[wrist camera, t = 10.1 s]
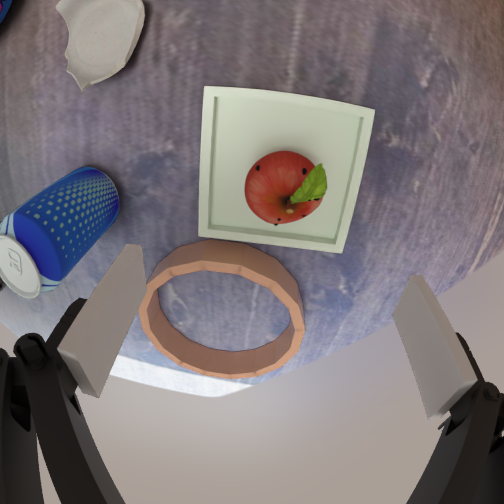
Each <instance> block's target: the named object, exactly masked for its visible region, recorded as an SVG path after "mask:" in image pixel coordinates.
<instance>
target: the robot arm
mask: <svg viewBox="0 0 504 504" xmlns="http://www.w3.org/2000/svg"><path fill="white" fill-rule="evenodd" d="M5 286H6V283H5V282H4V281H3V280H2V278H1V277H0V291H1V290H3V289H4V287H5ZM146 293H147V284H146V277H145V269H144V262H143V253H142V245H135V244H126V246H125V247H124V248H123V250H122V251H121V252H120V254H119V255H118V257H117V258H116V259H115V261H114V262H113V263H112V265H111V266H110V268H109V269H108V270H107V272H106V273H105V275H104V276H103V278H102V279H101V280H100V282H99V283H98V285H97V286H96V288H95V289H94V291H93V292H92V294H91V295H90V297H89V298H88V299H83V298H78V299H77V300H76V301H75V302H73V303H72V304H71V305H70V306H69V307H68V309H67V310H66V312H65V313H64V315H63V316H62V318H61V319H60V322H58V324H57V325H56V327H55V328H54V330H53V332H52V333H51V335H50V336H49V338H48V339H47V341H46V343H45V341H44V339H43V337H42V336H40V335H39V334H36V333H28V334H25V335H23V336H21V337H20V338H19V339H18V340H17V342H16V343H15V345H14V351H13V352H14V354H15V355H16V357H9V355H8V354H7V352H6V351H5V350H4V349H2V348H0V504H44V499H43V494H42V488H41V480H40V472H39V464H38V452H37V437H38V440H39V444H40V447H41V450H42V454H43V457H44V460H45V463H46V466H47V468H48V471H49V474H50V477H51V479H52V482H53V484H54V487H55V490H56V492H57V494H58V497H59V499H60V501H61V504H125V502H124V500H123V498H122V497H121V495H120V493H119V491H118V490H117V488H116V486H115V484H114V482H113V480H112V478H111V476H110V474H109V472H108V470H107V468H106V466H105V464H104V462H103V460H102V458H101V456H100V454H99V451H98V449H97V447H96V445H95V442H94V440H93V438H92V435H91V433H90V430H89V428H88V425H87V423H86V421H85V418H84V415H83V412H82V410H81V407H80V404H79V401H78V398H77V396H76V394H75V390H76V388H77V386H79V388H80V389H81V391H82V392H83V393H85V394H88V395H91V396H94V397H97V398H99V397H100V394H101V392H102V390H103V387H104V385H105V383H106V380H107V378H108V375H109V373H110V371H111V368H112V366H113V364H114V361H115V359H116V357H117V355H118V352H119V350H120V348H121V346H122V343H123V341H124V339H125V337H126V335H127V333H128V330H129V328H130V326H131V324H132V322H133V320H134V318H135V315H136V313H137V311H138V309H139V307H140V305H141V303H142V301H143V299H144V297H145V295H146ZM392 316H393V319H394V321H395V324H396V326H397V329H398V331H399V334H400V337H401V339H402V342H403V344H404V347H405V350H406V353H407V355H408V358H409V361H410V364H411V367H412V370H413V373H414V376H415V378H416V382H417V385H418V388H419V391H420V394H421V397H422V401H423V404H424V407H425V411H426V414H427V418H428V420H430V419H435V418H441V417H442V416H443V415H444V414H445V413H446V412H447V411H450V413H451V416H450V417H449V418H447V419H446V420H445V421H444V422H443V423H442V424H441V425H440V426H439V427H438V429H439V430H440V429H441V428H442V427H443V426H444V425H445V426H444V429H443V430H442V434H441V436H440V438H439V441H438V443H437V445H436V448H435V450H434V452H433V454H432V456H431V458H430V460H429V463H428V465H427V467H426V469H425V471H424V473H423V475H422V476H421V479H420V480H419V482H418V484H417V486H416V488H415V489H414V491H413V493H412V495H411V496H410V498H409V500H408V501H407V503H406V504H504V436H503V437H502V431H504V394H503V393H500V392H499V390H498V388H497V387H496V386H495V385H494V384H493V383H490V382H485V381H484V378H483V376H482V374H481V372H480V369H479V367H478V365H477V363H476V361H475V359H474V357H473V355H472V353H471V351H469V347H468V345H467V343H466V341H465V340H464V338H463V337H462V336H461V335H460V334H459V333H455V331H454V329H453V327H452V326H451V324H450V322H449V320H448V318H447V316H446V315H445V313H444V311H443V309H442V307H441V306H440V304H439V302H438V300H437V299H436V297H435V295H434V293H433V292H432V290H431V288H430V287H429V285H428V283H427V282H426V280H425V278H424V277H423V276H421V275H410V278H409V280H408V282H407V285H406V287H405V289H404V291H403V293H402V295H401V298H400V300H399V302H398V304H397V306H396V308H395V310H394V312H393V314H392ZM36 433H37V436H36Z"/></svg>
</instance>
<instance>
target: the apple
mask: <svg viewBox="0 0 504 504" xmlns="http://www.w3.org/2000/svg"><path fill="white" fill-rule="evenodd" d="M326 190H327V178H326V173H325V169H323V166H322V163H321V164H319V165H317V166H316V167H315V165H314V164H313V163H312V162H311V161H310V160H309V159H307V158H306V157H304V156H303V155H301V154H299V153H296V152H292V151H277V152H273V153H270V154H268V155H266V156H264V157H262V158H261V159H259V160H258V161H257V162H256V163H255V164H254V165H253V166H252V167H251V169H250V170H249V172H248V174H247V176H246V180H245V188H244V192H245V198H246V202H247V204H248V206H249V208H250V209H251V210H252V212H253V213H254V214H255V215H256V216H258V217H259V218H260V219H262V220H264V221H265V222H268V223H271V224H274V225H275V226H277V225H278V224H285V223H290V222H294V221H297V220H300V219H302V218H304V217H306V216H308V215H309V214H311V213H312V212H313V211H314V210H315V209H316V208H317V207H319V205H320V204H321V202H322V199H323V196H324V195H325V194H326V192H325V191H326Z"/></svg>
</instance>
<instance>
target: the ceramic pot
mask: <svg viewBox="0 0 504 504" xmlns="http://www.w3.org/2000/svg"><path fill="white" fill-rule="evenodd" d="M11 3H12V0H0V23H1V22H2V20H3V19H4V17H5V15H6V13H7V11H8V9H9V7H10V5H11Z"/></svg>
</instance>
